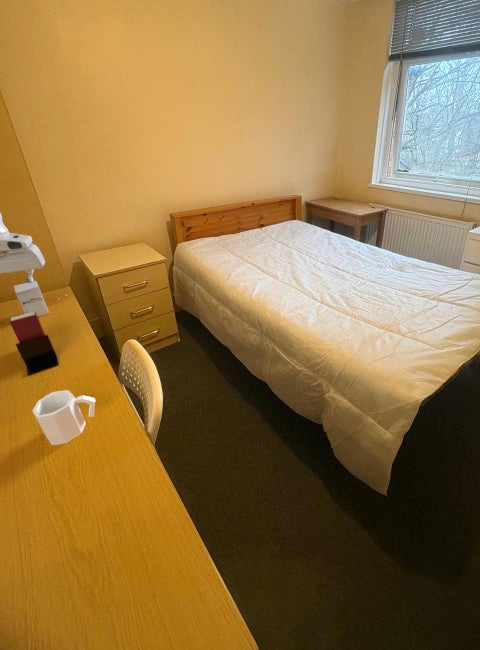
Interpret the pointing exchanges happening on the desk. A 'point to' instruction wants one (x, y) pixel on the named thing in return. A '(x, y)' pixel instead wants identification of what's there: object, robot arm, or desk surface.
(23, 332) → the book
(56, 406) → the mug
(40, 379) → the desk surface
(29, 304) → the white packaging box
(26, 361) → the bookend
